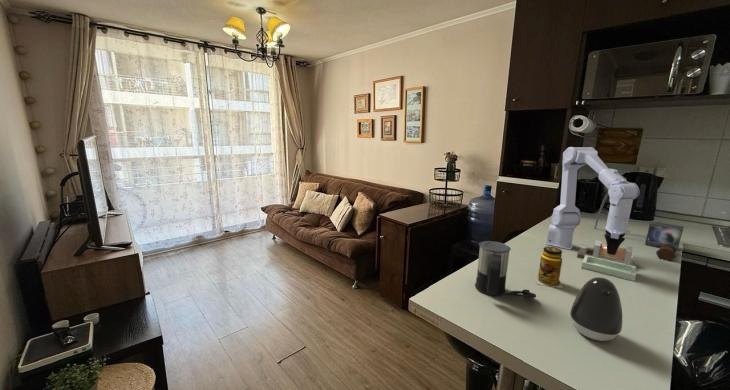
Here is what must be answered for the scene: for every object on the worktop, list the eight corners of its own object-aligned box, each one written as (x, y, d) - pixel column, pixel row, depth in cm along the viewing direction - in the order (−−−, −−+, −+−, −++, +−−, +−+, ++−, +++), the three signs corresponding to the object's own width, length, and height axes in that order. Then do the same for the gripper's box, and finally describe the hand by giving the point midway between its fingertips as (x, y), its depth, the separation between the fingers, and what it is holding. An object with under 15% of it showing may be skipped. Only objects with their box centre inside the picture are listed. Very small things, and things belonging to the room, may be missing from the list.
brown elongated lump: (669, 255, 129) (666, 264, 119) (657, 247, 132) (652, 254, 122) (682, 246, 126) (679, 254, 116) (669, 238, 129) (665, 245, 119)
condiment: (537, 284, 99) (542, 250, 96) (533, 273, 107) (538, 242, 104) (563, 289, 96) (569, 254, 94) (557, 277, 104) (562, 245, 101)
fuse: (592, 257, 110) (594, 245, 109) (593, 251, 114) (596, 239, 112) (629, 265, 104) (632, 252, 102) (629, 259, 107) (632, 246, 106)
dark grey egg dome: (574, 341, 72) (585, 284, 68) (563, 317, 81) (572, 266, 78) (626, 353, 68) (640, 293, 65) (608, 326, 78) (620, 273, 74)
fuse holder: (577, 257, 121) (578, 249, 120) (580, 249, 129) (581, 242, 128) (632, 270, 110) (634, 261, 109) (632, 261, 118) (634, 252, 117)
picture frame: (644, 245, 136) (649, 223, 134) (646, 241, 140) (651, 220, 138) (677, 252, 128) (683, 229, 126) (678, 248, 132) (683, 226, 130)
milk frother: (471, 281, 100) (475, 239, 97) (518, 282, 100) (523, 241, 97) (486, 305, 86) (491, 258, 83) (541, 307, 86) (548, 259, 83)
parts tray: (581, 268, 111) (582, 262, 111) (584, 260, 118) (585, 255, 117) (634, 281, 102) (636, 275, 101) (634, 272, 108) (635, 266, 108)
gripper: (633, 223, 97) (625, 261, 100) (633, 214, 108) (625, 249, 111) (606, 219, 102) (599, 255, 105) (608, 211, 113) (602, 244, 116)
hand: (611, 252), depth 108 cm, fingers closed on fuse, 4 cm apart
